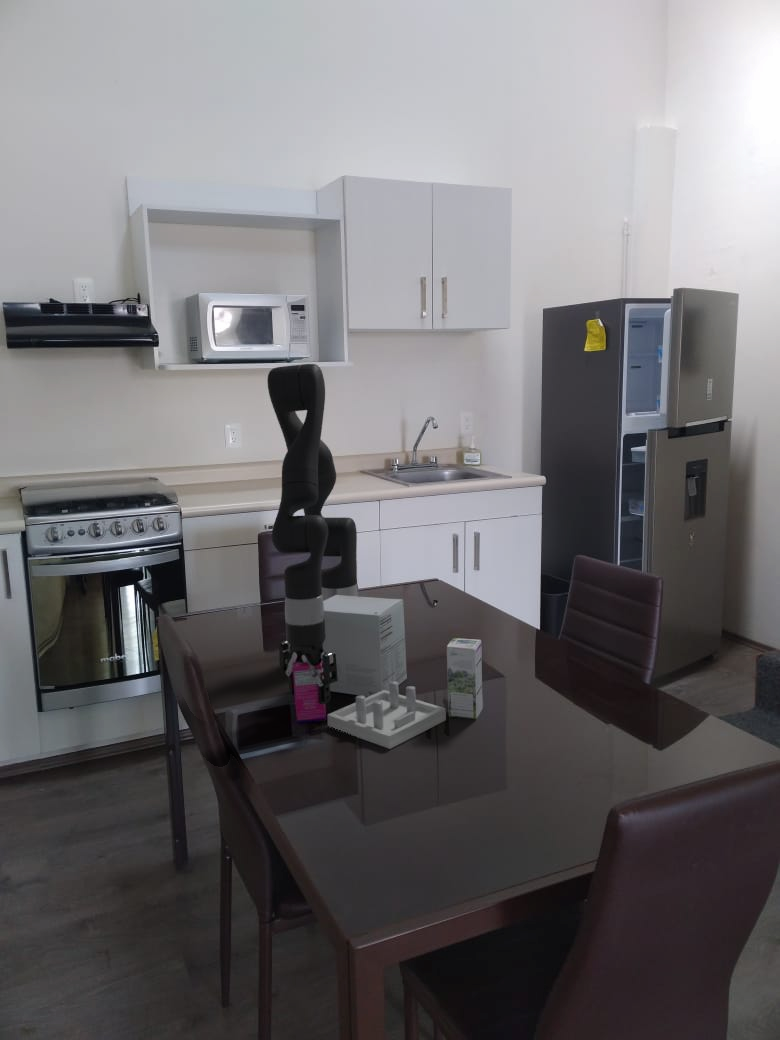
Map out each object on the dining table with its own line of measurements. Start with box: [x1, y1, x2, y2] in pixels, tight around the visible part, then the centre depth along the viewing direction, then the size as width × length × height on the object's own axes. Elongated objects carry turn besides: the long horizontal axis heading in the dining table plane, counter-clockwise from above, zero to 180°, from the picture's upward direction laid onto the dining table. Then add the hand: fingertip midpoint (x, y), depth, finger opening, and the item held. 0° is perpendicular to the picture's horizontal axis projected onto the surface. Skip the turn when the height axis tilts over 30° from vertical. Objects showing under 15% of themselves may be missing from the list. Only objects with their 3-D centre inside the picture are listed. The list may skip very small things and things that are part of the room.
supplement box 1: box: [292, 661, 327, 724], centre depth 163 cm, size 6×6×12 cm
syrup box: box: [446, 637, 484, 720], centre depth 162 cm, size 6×6×14 cm
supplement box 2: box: [322, 595, 408, 698], centre depth 180 cm, size 17×13×18 cm
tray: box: [326, 681, 447, 749], centre depth 159 cm, size 16×16×6 cm
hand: (309, 698), depth 163 cm, fingers closed on supplement box 1, 8 cm apart
